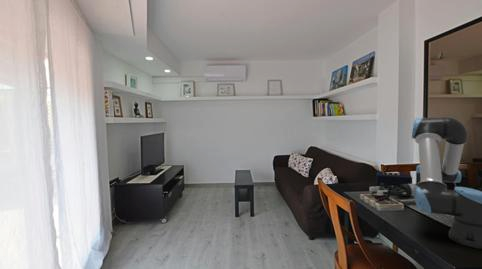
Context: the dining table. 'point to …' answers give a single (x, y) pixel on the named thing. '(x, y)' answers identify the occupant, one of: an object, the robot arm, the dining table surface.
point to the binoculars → (382, 197)
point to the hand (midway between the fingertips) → (373, 191)
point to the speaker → (392, 179)
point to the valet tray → (381, 203)
